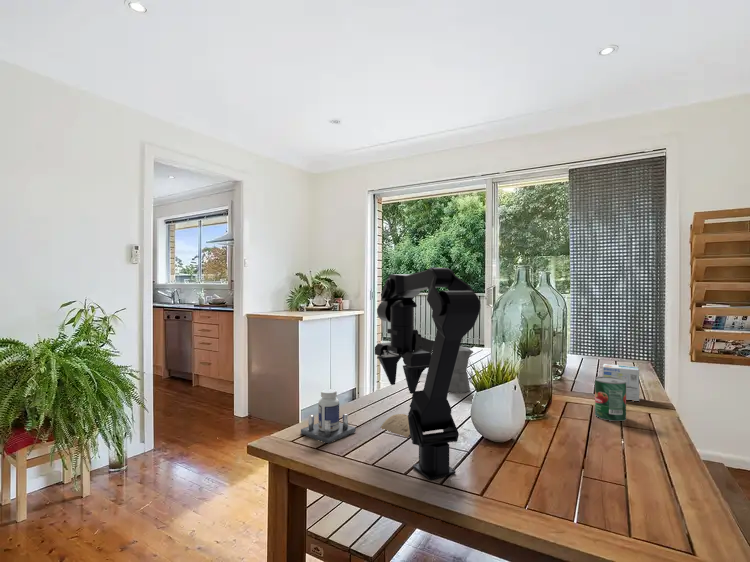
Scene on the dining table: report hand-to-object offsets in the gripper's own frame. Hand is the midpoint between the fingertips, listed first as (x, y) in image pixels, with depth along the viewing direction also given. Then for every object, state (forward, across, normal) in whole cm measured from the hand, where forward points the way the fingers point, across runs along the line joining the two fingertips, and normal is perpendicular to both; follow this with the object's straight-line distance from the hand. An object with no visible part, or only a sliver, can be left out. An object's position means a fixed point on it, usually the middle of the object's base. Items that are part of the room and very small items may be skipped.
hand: (402, 388), depth 99 cm
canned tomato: (+13, -12, -63) cm, 66 cm away
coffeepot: (+13, +34, -43) cm, 56 cm away
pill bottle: (+12, +14, +14) cm, 23 cm away
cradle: (+13, +14, +14) cm, 24 cm away
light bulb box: (+13, -1, -86) cm, 87 cm away
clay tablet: (+14, +9, -7) cm, 18 cm away
